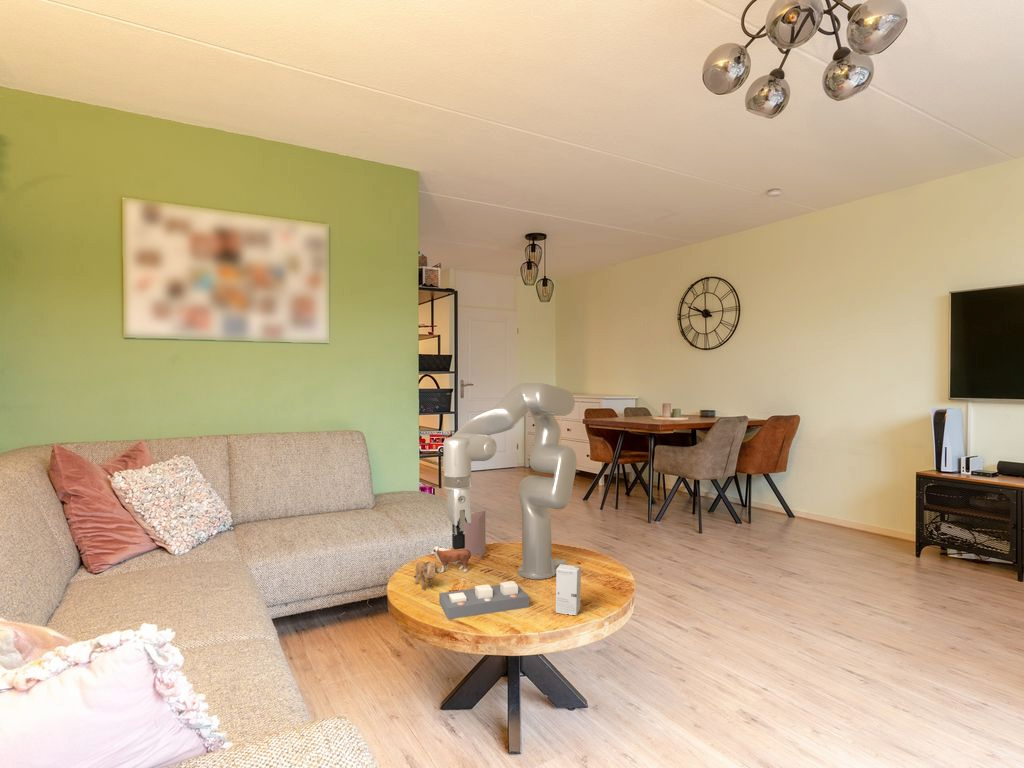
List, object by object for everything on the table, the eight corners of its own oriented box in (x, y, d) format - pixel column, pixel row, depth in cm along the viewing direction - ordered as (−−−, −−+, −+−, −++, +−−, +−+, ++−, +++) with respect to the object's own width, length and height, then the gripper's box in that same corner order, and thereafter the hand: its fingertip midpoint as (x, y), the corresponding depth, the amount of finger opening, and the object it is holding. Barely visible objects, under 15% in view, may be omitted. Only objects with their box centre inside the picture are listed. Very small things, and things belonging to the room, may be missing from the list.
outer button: (463, 604, 158) (462, 592, 158) (466, 610, 154) (466, 597, 154) (449, 606, 157) (448, 594, 157) (452, 612, 153) (452, 599, 153)
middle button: (488, 596, 160) (488, 584, 160) (492, 601, 157) (492, 589, 157) (475, 598, 159) (474, 586, 159) (478, 603, 155) (478, 591, 155)
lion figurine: (443, 591, 169) (442, 561, 169) (427, 595, 166) (426, 564, 166) (421, 577, 181) (421, 549, 181) (406, 580, 178) (405, 552, 178)
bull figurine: (432, 568, 189) (432, 544, 189) (471, 569, 188) (471, 544, 188) (429, 572, 185) (428, 548, 185) (469, 573, 184) (469, 548, 184)
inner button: (513, 593, 163) (513, 580, 163) (518, 598, 159) (518, 585, 159) (500, 594, 162) (500, 582, 162) (504, 600, 158) (504, 587, 158)
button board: (516, 592, 167) (515, 582, 167) (529, 607, 156) (529, 595, 156) (439, 603, 159) (439, 592, 159) (447, 619, 149) (447, 607, 149)
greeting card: (484, 550, 208) (483, 510, 208) (498, 555, 203) (497, 513, 202) (460, 558, 200) (460, 515, 199) (474, 562, 194) (474, 519, 194)
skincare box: (555, 613, 152) (554, 568, 152) (559, 606, 156) (559, 563, 156) (577, 616, 150) (577, 571, 150) (581, 610, 154) (581, 566, 154)
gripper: (477, 485, 149) (478, 554, 150) (464, 476, 163) (465, 539, 164) (450, 488, 147) (451, 558, 147) (438, 478, 161) (439, 542, 161)
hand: (458, 548), depth 156 cm, fingers closed
